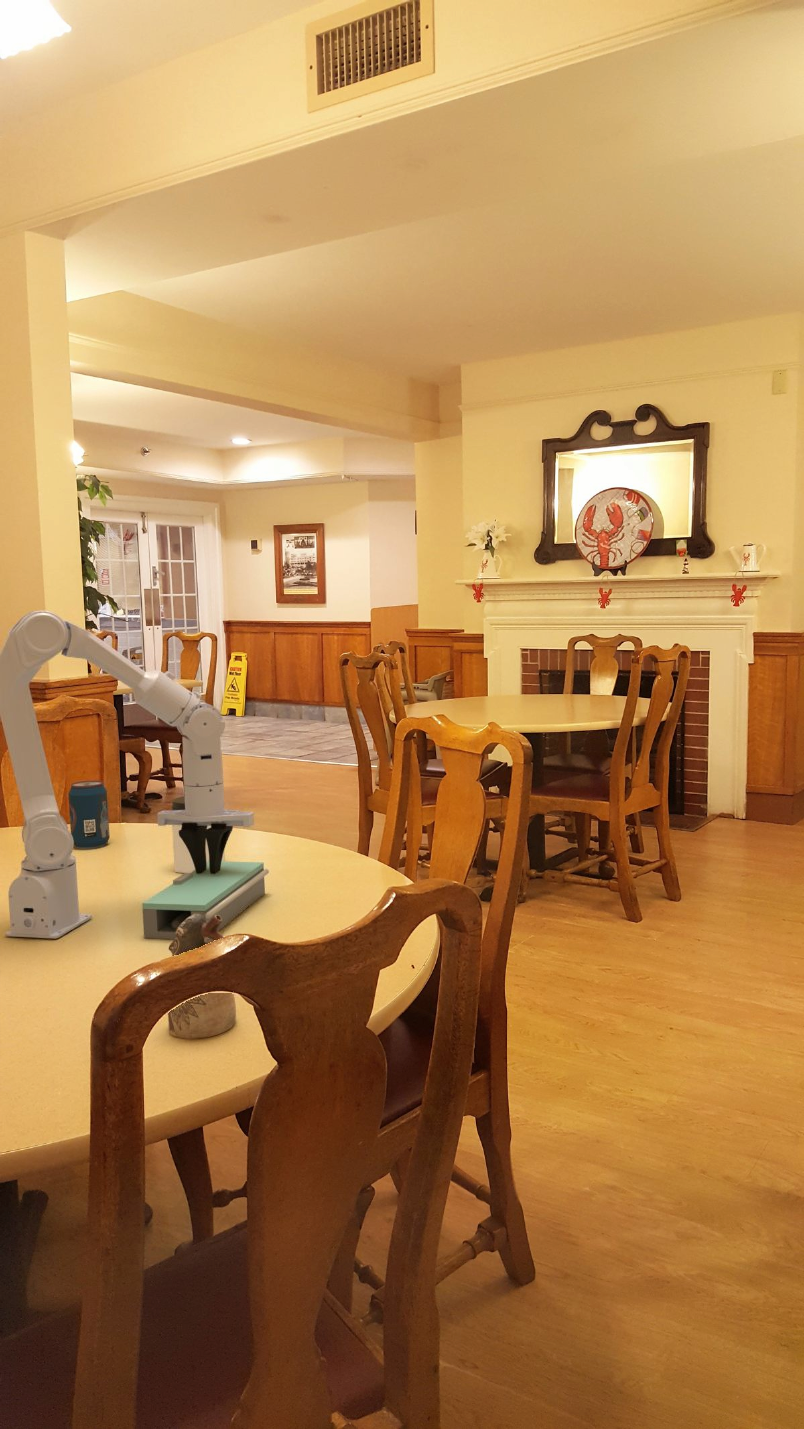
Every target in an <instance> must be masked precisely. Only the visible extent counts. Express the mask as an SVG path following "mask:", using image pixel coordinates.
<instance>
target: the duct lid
mask: <svg viewBox="0 0 804 1429" xmlns="http://www.w3.org/2000/svg"><path fill="white" fill-rule="evenodd" d="M264 863H265V862H262V861H261V862H259V861H256V862H255V861H225V862H221V868H220V871H219V872H217V873H216V874H210V868H209V861H208V862H207V867H206V870H205V871H204V872H202V873H201V874H197V873H196V870H194V871H192V872H191V873H181V875H179V876H178V877H176V878H175V879H173V880H172V883H171V885H169V886H167V887H165V888H163V890H161V891H159V892H157V893H156V894H155V895H152V896H151V897H149V898H148V899H146V900H145V901H143V902H141V908H142V909H159V910H187V911H206V910H207V909H209V908H210V907H211V906H213V905H214V904H215V903H217V902H218V901H219V900H221V899H222V898H223V897H225V896H226V895H227V894H229V893H230V892H231V891H233V890H234V889H236V888H237V887H238V886H240V885H241V884H242V883H244V882H245V881H246V880H248V879H249V878H250V877H252V876H253V875H254V874H256V873H257V872H258V871H260V870H261V869H263V868H265V865H264Z"/></svg>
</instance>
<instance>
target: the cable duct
mask: <svg viewBox="0 0 804 1429" xmlns="http://www.w3.org/2000/svg"><path fill="white" fill-rule="evenodd" d="M264 868H265V867H264ZM264 868H263V869H261V870H260V871H258V872H257V873H256V874H254V875H253V876H252V877H250V878H249V879H248V880H246V881H245V882H244V883H242V884H241V885H240V886H238V887H237V888H236V889H234V890H233V891H231V892H230V893H229V894H227V895H226V896H225V897H223V898H222V899H221V900H219V901H218V902H217V903H215V904H214V905H213V906H211V907H210V908H209V909H207V910H206V911H187V910H159V909H142V922H143V923H142V924H143V938H144V939H154V940H155V939H158V940H159V939H160V940H173V941H174V939H175V933H176V930H177V928H178V927H179V926H180V925H181V924H182V923H183V922H184V921H185V920H186V919H187V918H188V917H190V916H192V915H194V914H201V915H202V916H203V917H204V918H205V920H206V923H208V922H209V921H210V920H211V919H212V918H213V917H214V916H215V915H219V916H220V917H221V919H222V922H221V924H220V926H219V927H218V928H217V931H218V932H220V931H221V930H222V929H224V928H225V927H226V926H227V925H228V924H230V923H231V922H232V921H233V920H234V919H236V918H237V917H238V916H239V915H240V914H242V913H243V912H244V911H246V910H247V909H248V908H249V907H251V904H252V905H253V904H254V903H255V902H257V901H258V900H259V899H260V898H262V896H264V895H265V894H266V890H265V888H266V886H265V884H266V883H265V876H267V875H268V874H269V873H270V870H269V869H268V868H265V869H264ZM248 906H249V907H248ZM247 907H248V908H247ZM246 908H247V909H246ZM243 910H244V911H243ZM241 912H242V913H241ZM238 914H239V915H238ZM236 916H237V917H236ZM235 917H236V918H235ZM231 920H232V921H231ZM230 921H231V922H230ZM224 926H225V927H224Z"/></svg>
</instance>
